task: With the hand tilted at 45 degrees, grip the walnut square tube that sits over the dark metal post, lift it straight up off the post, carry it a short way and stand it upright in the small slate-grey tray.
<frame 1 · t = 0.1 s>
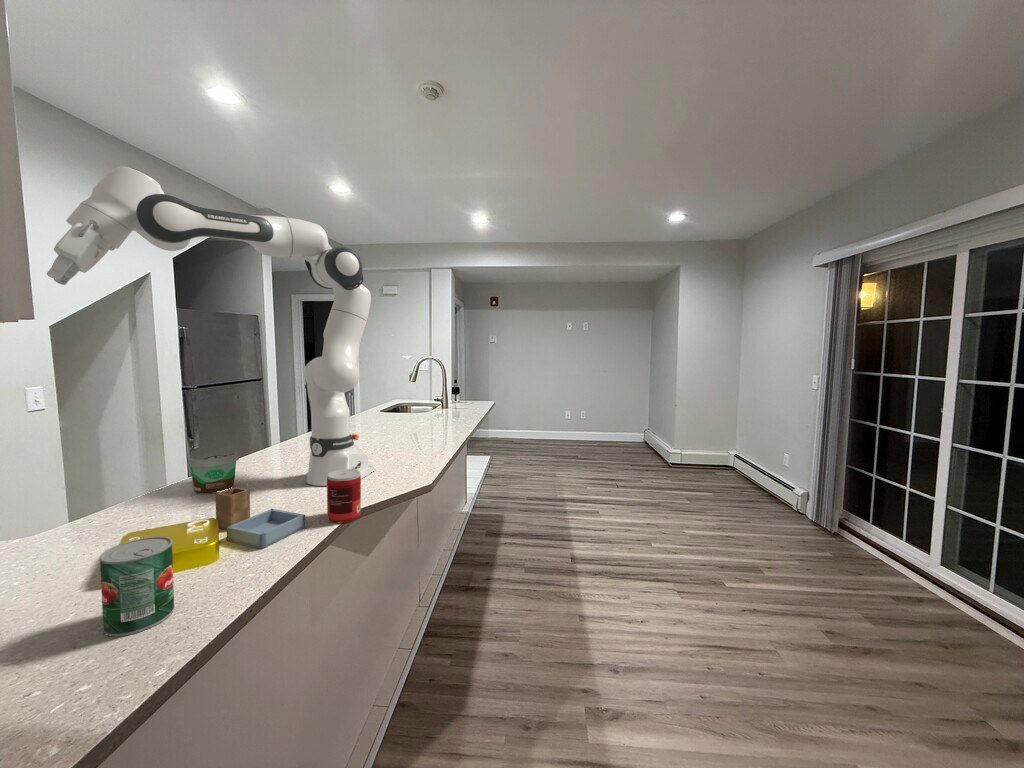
hand: (55, 280, 84), 54 cm above the counter, tool tilted 30°, fingers open, 8 cm apart
slate tray: (267, 533, 88), on the counter
metal post: (233, 525, 92), on the counter
canned food: (344, 517, 98), on the counter
element tile: (171, 560, 77), on the counter
canned tomato: (140, 619, 60), on the counter
food container: (217, 491, 114), on the counter
walnut tube: (233, 525, 92), on the counter
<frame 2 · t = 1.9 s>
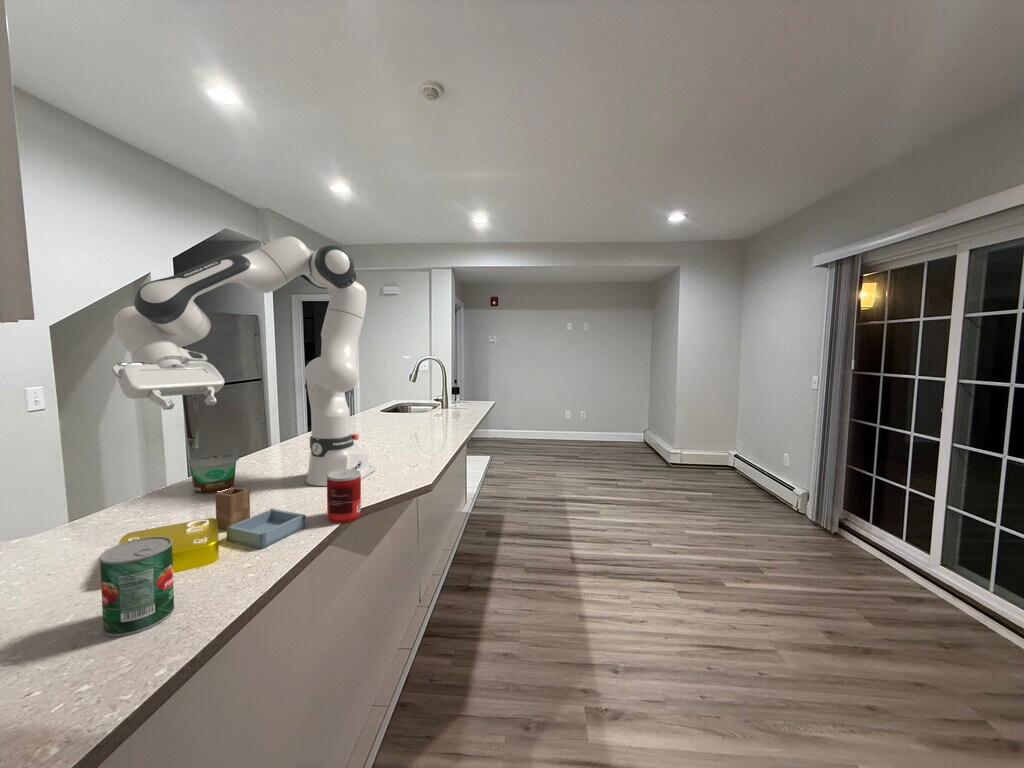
hand: (192, 405, 93), 27 cm above the counter, tool tilted 45°, fingers open, 8 cm apart
nothing on the counter moved.
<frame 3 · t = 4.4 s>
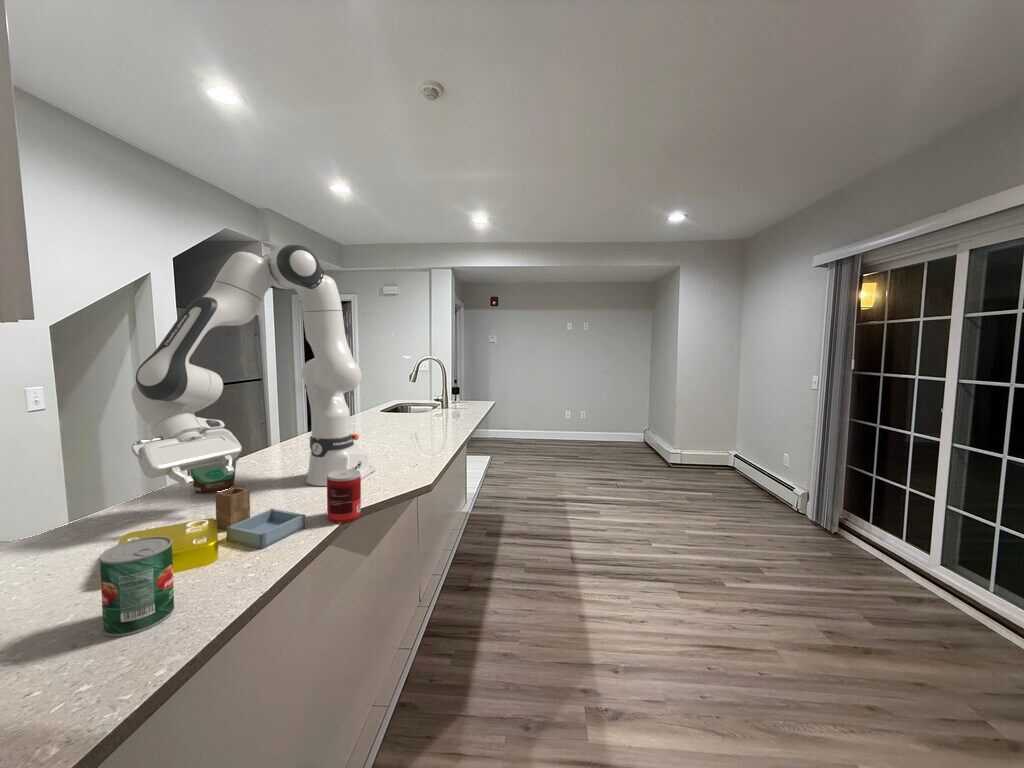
hand: (210, 478, 93), 10 cm above the counter, tool tilted 45°, fingers open, 8 cm apart
nothing on the counter moved.
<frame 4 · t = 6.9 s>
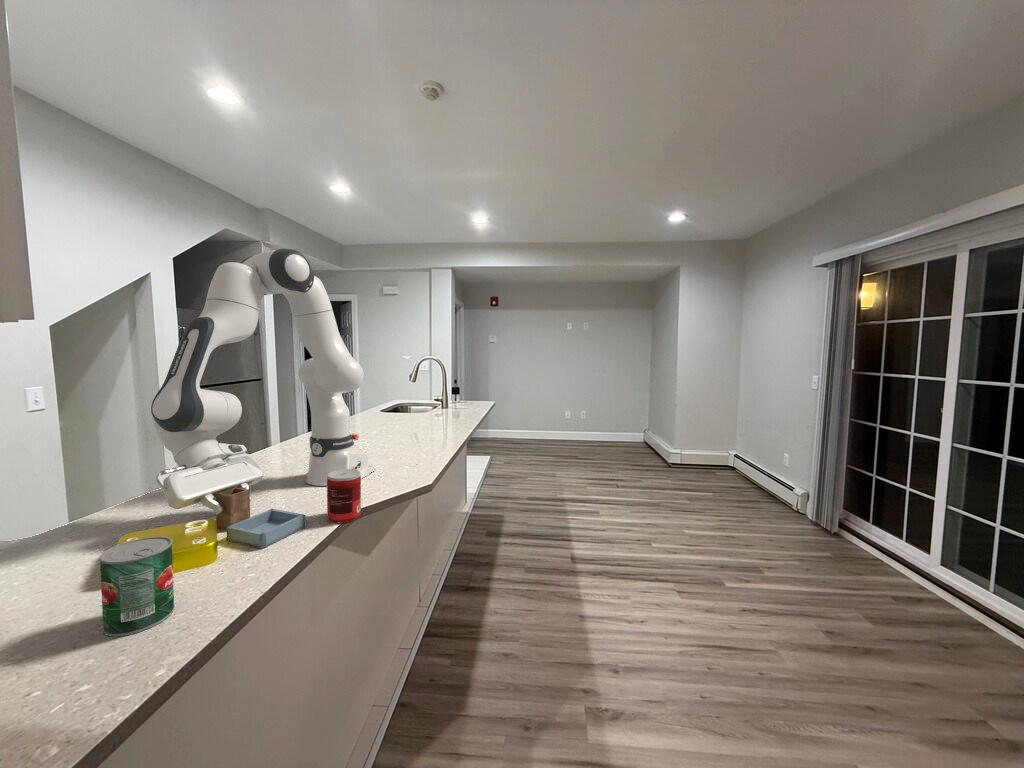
hand: (235, 507, 91), 4 cm above the counter, tool tilted 45°, fingers closed on walnut tube, 5 cm apart
walnut tube: (233, 525, 92), on the counter, touching gripper
everything else where it was.
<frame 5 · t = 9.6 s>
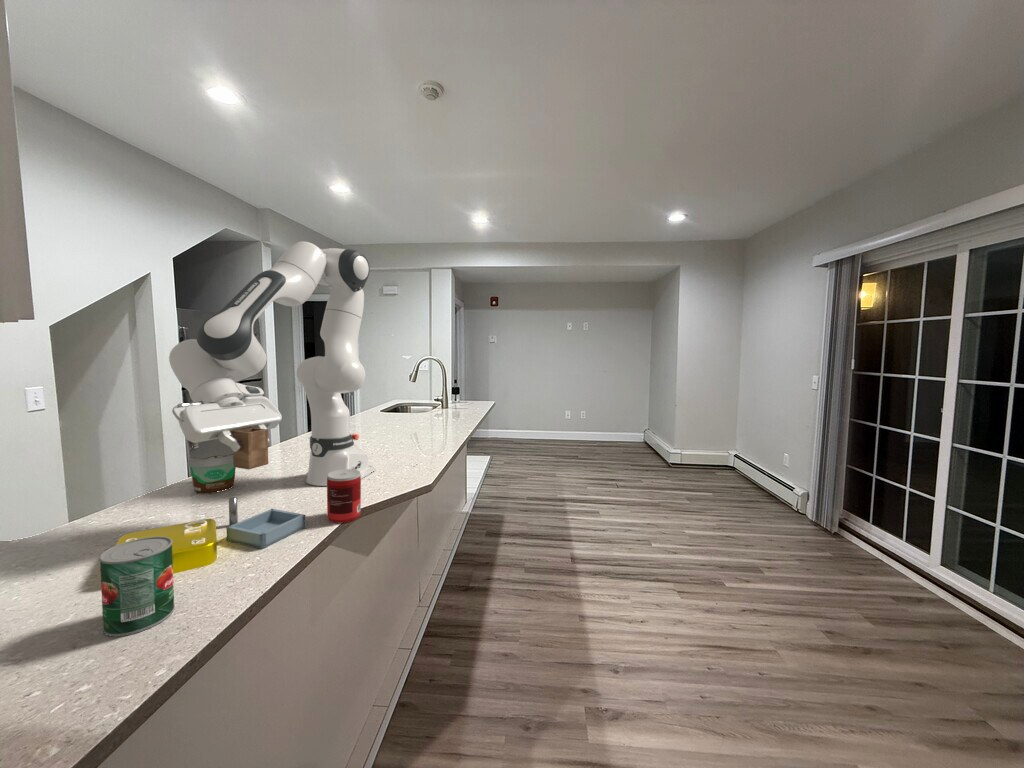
hand: (253, 446, 88), 19 cm above the counter, tool tilted 45°, fingers closed on walnut tube, 5 cm apart
walnut tube: (251, 465, 88), point 15 cm above the counter, touching gripper
everything else where it was.
when the fingers open (6 cm above the counter, at t = 12.9 s): walnut tube drops 1 cm, resting on slate tray.
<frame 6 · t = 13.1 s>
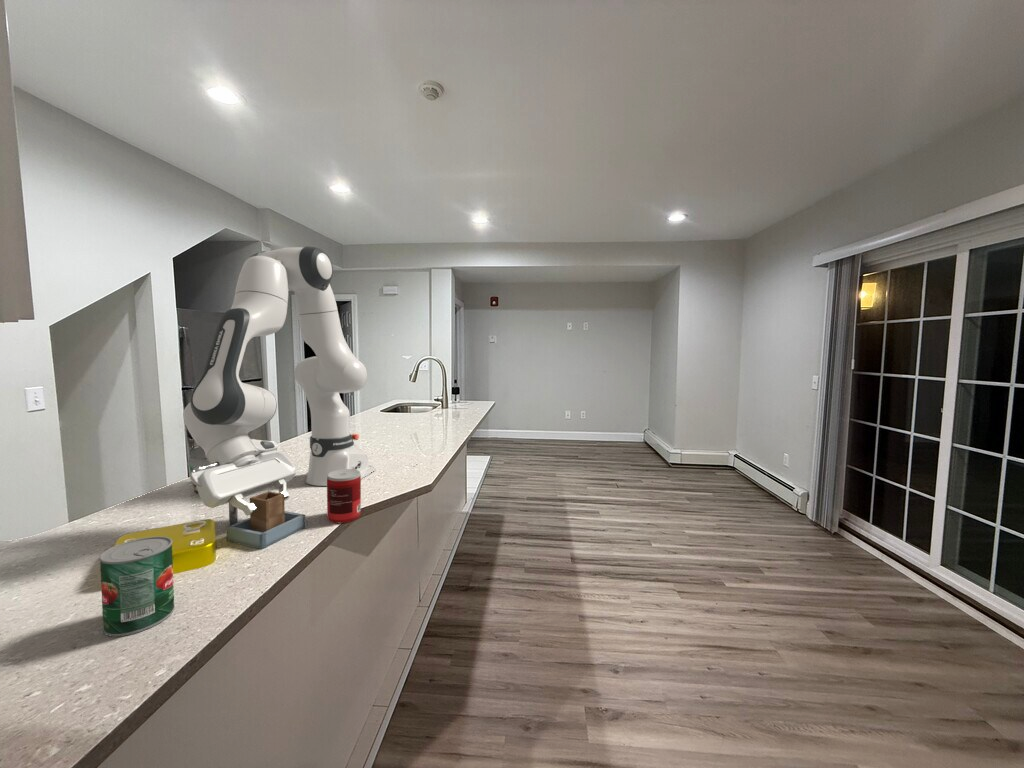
hand: (269, 505, 87), 6 cm above the counter, tool tilted 45°, fingers open, 7 cm apart
walnut tube: (268, 531, 88), point 1 cm above the counter, touching slate tray
everything else where it was.
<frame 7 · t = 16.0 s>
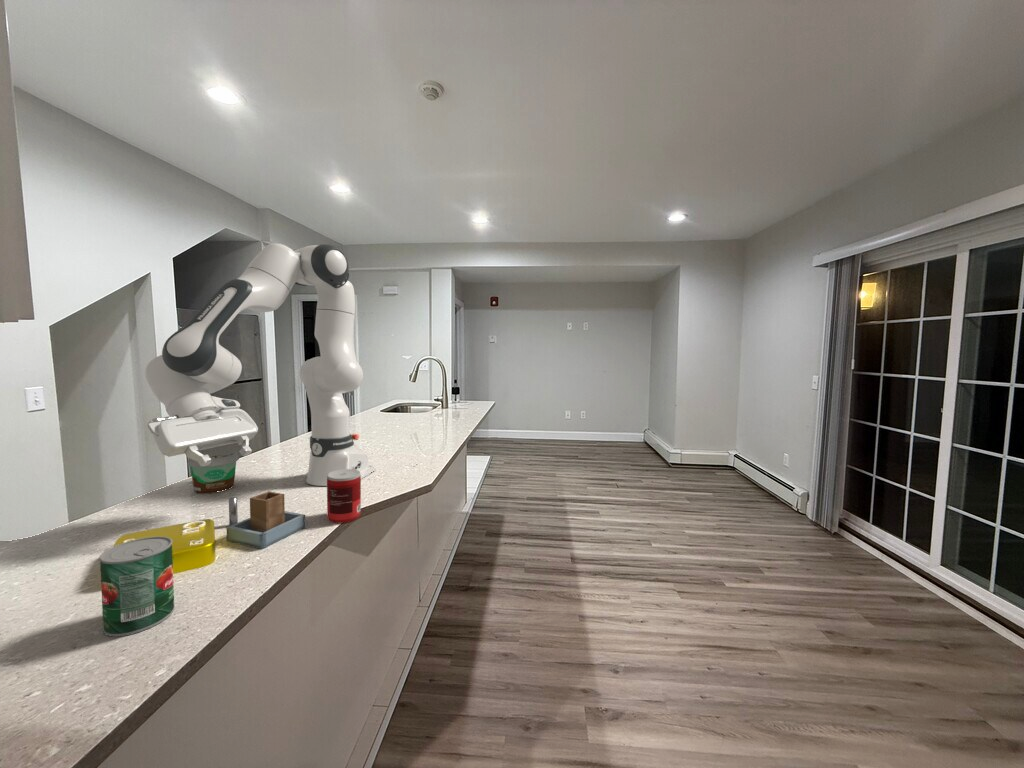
hand: (228, 458, 90), 16 cm above the counter, tool tilted 45°, fingers open, 8 cm apart
nothing on the counter moved.
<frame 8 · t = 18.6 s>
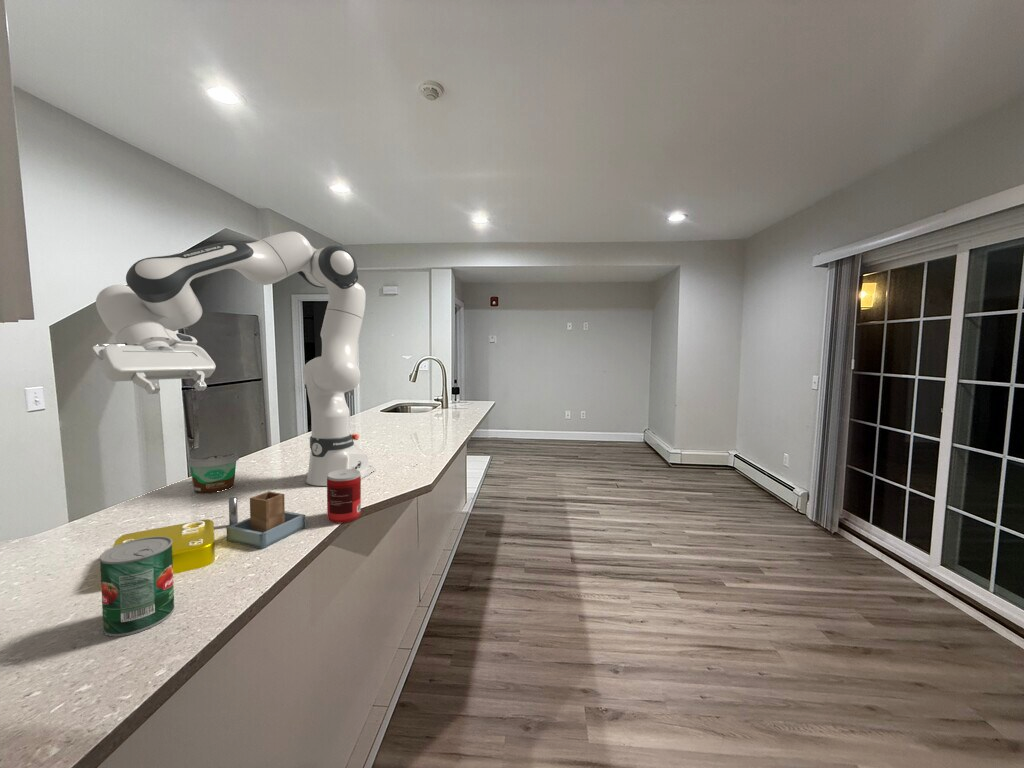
hand: (179, 390, 87), 31 cm above the counter, tool tilted 45°, fingers open, 8 cm apart
nothing on the counter moved.
at the end: walnut tube 0.0 cm off-centre on the slate tray, point 0.6 cm above the slate tray's base; walnut tube tilted 0°; the gripper is holding nothing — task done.
